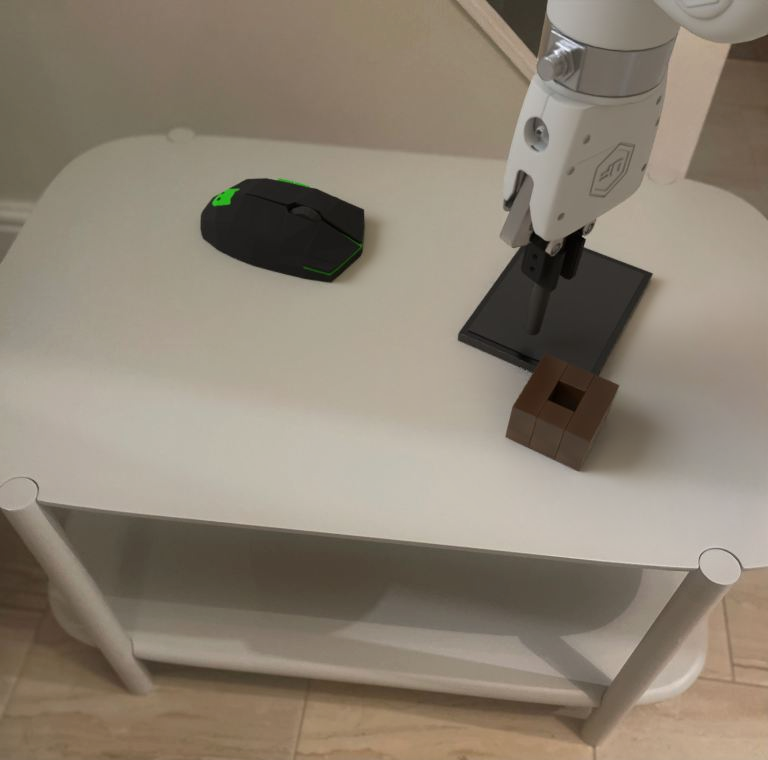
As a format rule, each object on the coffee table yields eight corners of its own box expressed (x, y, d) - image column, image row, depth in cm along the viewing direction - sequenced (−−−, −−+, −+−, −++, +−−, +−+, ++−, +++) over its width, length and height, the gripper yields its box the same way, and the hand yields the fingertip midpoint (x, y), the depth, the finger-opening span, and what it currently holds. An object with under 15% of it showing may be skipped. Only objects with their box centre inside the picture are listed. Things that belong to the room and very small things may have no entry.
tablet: (650, 280, 74) (653, 272, 73) (587, 397, 65) (589, 389, 64) (532, 234, 77) (533, 226, 76) (457, 339, 69) (458, 332, 68)
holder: (607, 415, 64) (619, 384, 61) (578, 471, 60) (590, 442, 57) (536, 384, 66) (545, 352, 63) (504, 436, 62) (512, 406, 59)
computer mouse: (233, 176, 82) (228, 144, 79) (383, 212, 79) (384, 179, 76) (181, 246, 75) (172, 213, 72) (342, 288, 72) (341, 256, 69)
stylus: (543, 326, 66) (574, 216, 57) (536, 338, 65) (567, 227, 56) (527, 320, 67) (556, 209, 57) (520, 331, 66) (548, 220, 56)
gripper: (561, 125, 42) (510, 352, 56) (737, 32, 48) (650, 258, 62) (463, 64, 45) (439, 292, 59) (639, -15, 51) (578, 209, 66)
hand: (547, 273), depth 61 cm, fingers closed on stylus, 1 cm apart
